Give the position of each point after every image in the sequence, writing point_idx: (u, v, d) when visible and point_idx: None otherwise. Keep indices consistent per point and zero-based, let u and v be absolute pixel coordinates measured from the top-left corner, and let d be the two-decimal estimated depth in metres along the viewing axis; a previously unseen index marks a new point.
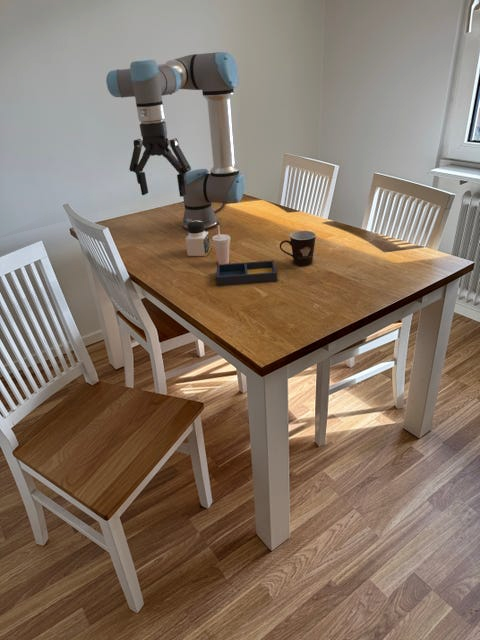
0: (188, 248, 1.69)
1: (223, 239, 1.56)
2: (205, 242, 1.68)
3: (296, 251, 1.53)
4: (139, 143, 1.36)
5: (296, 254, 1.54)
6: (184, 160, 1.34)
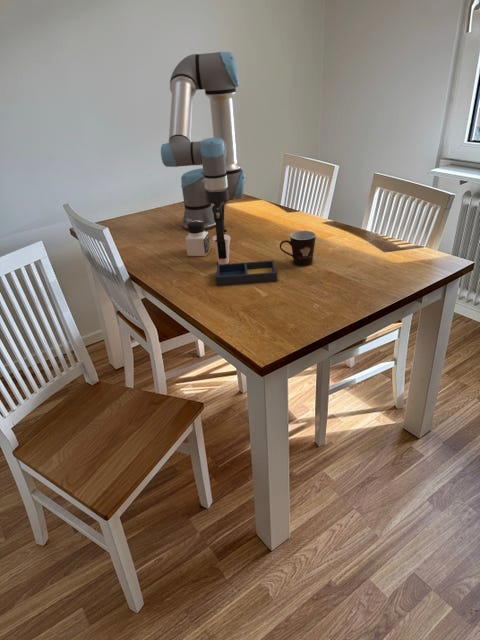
0: (188, 248, 1.69)
1: None
2: (205, 242, 1.68)
3: (296, 251, 1.53)
4: None
5: (296, 254, 1.54)
6: (219, 232, 1.50)
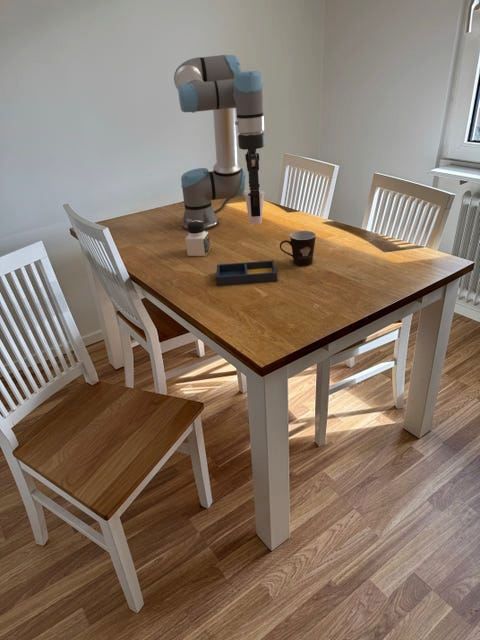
0: (188, 248, 1.69)
1: None
2: (205, 242, 1.68)
3: (296, 251, 1.53)
4: None
5: (296, 254, 1.54)
6: (254, 183, 1.30)
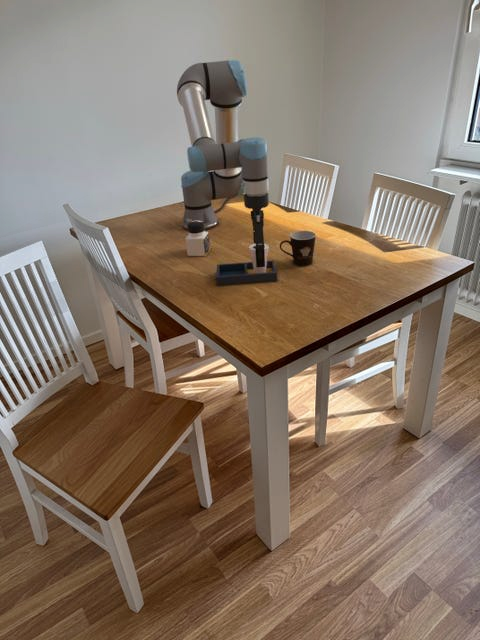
0: (188, 248, 1.69)
1: None
2: (205, 242, 1.68)
3: (296, 251, 1.53)
4: None
5: (296, 254, 1.54)
6: (259, 237, 1.35)
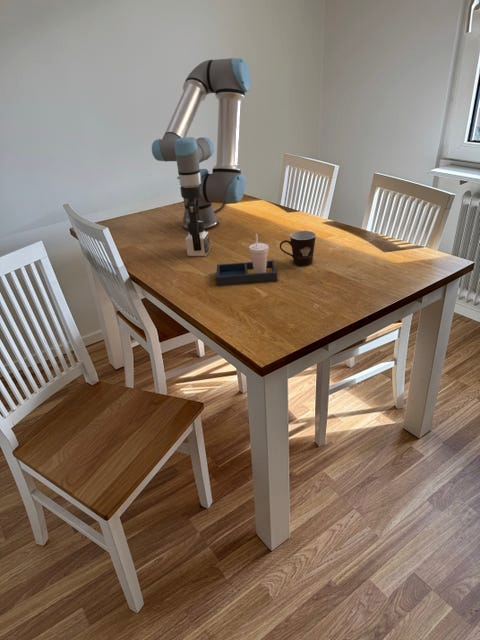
0: (188, 248, 1.68)
1: (261, 248, 1.44)
2: (205, 242, 1.68)
3: (296, 251, 1.53)
4: None
5: (296, 254, 1.54)
6: (193, 225, 1.60)
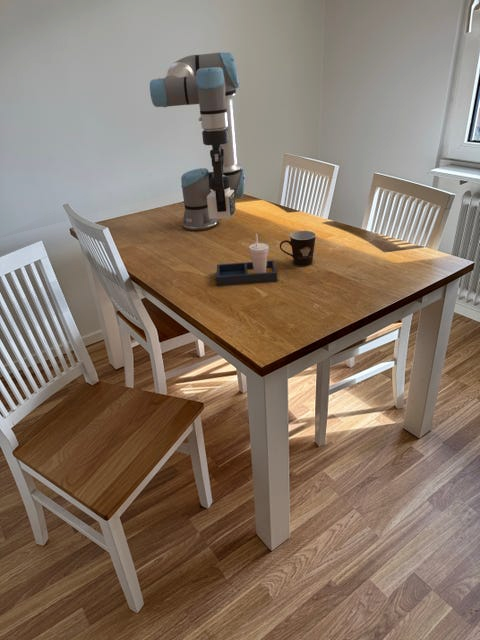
0: (210, 209, 1.39)
1: (261, 248, 1.44)
2: (231, 201, 1.38)
3: (296, 251, 1.53)
4: None
5: (296, 254, 1.54)
6: (218, 178, 1.30)
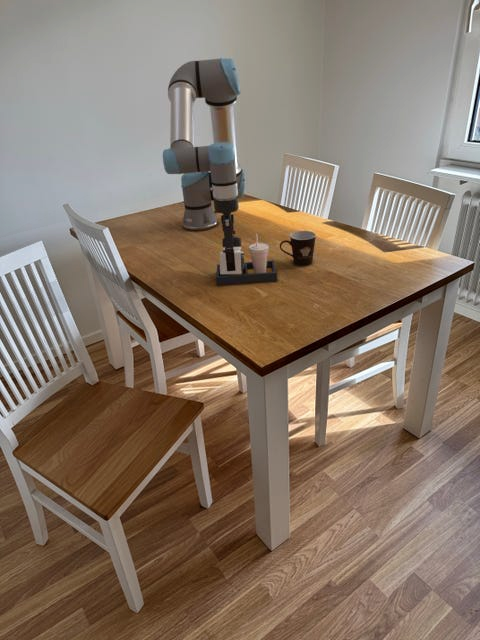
0: (222, 264, 1.46)
1: (261, 248, 1.44)
2: (242, 258, 1.47)
3: (296, 251, 1.53)
4: None
5: (296, 254, 1.54)
6: (228, 241, 1.36)
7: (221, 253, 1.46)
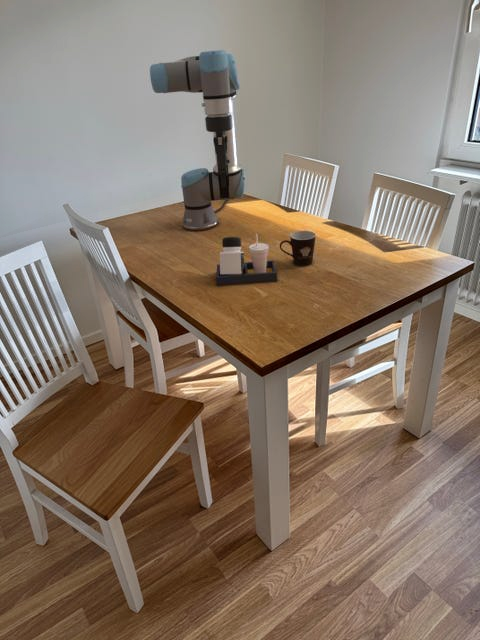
0: (222, 264, 1.46)
1: (261, 248, 1.44)
2: (242, 258, 1.47)
3: (296, 251, 1.53)
4: None
5: (296, 254, 1.54)
6: (221, 162, 1.24)
7: (221, 253, 1.46)
